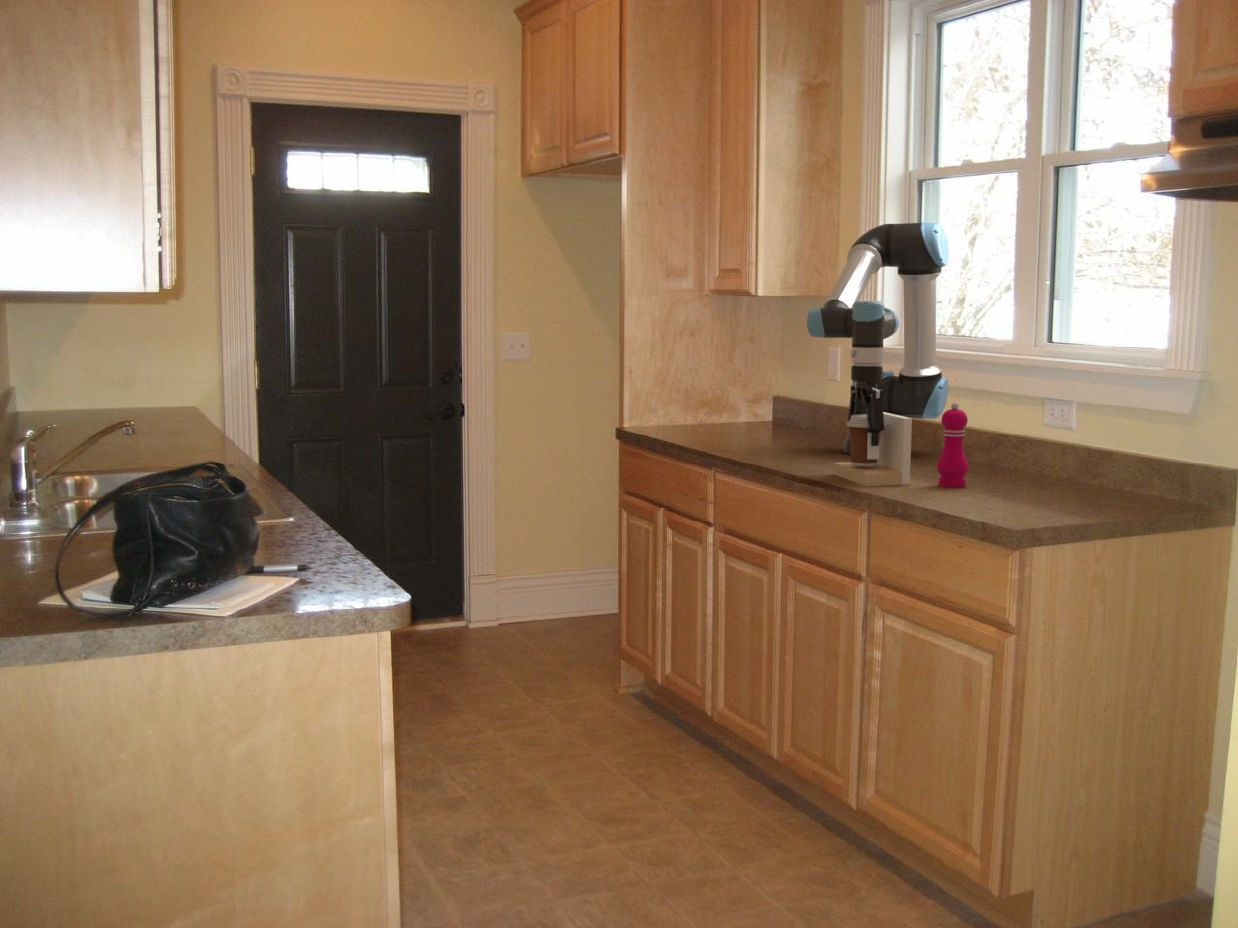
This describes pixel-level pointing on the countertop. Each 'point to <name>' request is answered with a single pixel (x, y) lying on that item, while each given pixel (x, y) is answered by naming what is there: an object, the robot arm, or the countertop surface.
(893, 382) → the robot arm
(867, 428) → the coffee cup
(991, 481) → the countertop surface
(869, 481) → the board
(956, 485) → the pepper mill
